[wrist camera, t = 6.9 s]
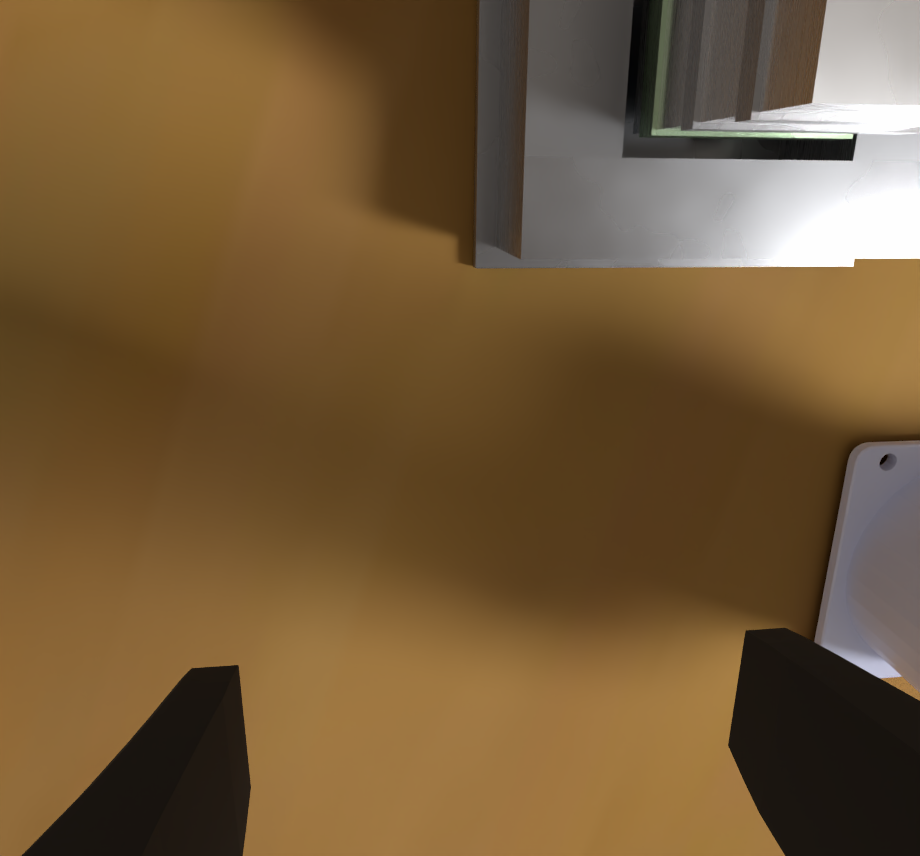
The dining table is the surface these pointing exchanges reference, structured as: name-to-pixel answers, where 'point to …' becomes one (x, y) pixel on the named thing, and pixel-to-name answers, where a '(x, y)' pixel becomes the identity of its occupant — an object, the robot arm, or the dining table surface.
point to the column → (778, 69)
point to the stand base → (656, 164)
